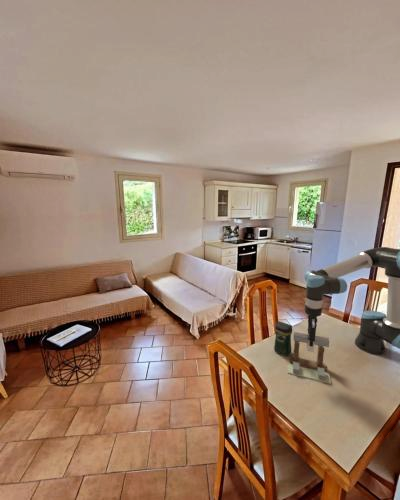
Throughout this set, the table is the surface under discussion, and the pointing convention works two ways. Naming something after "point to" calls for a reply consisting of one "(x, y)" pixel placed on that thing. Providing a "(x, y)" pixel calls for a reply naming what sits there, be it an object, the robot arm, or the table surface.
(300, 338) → the rail
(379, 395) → the table surface
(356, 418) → the table surface
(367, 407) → the table surface
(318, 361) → the rack
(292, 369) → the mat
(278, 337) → the coffee jar
